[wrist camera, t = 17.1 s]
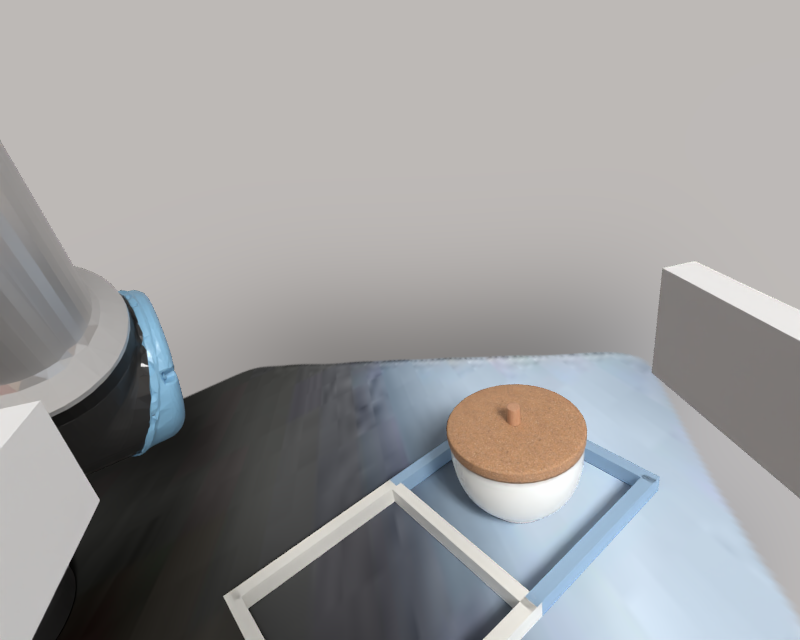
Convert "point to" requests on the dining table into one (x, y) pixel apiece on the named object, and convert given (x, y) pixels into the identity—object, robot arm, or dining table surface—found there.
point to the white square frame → (273, 575)
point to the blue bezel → (593, 539)
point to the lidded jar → (517, 450)
